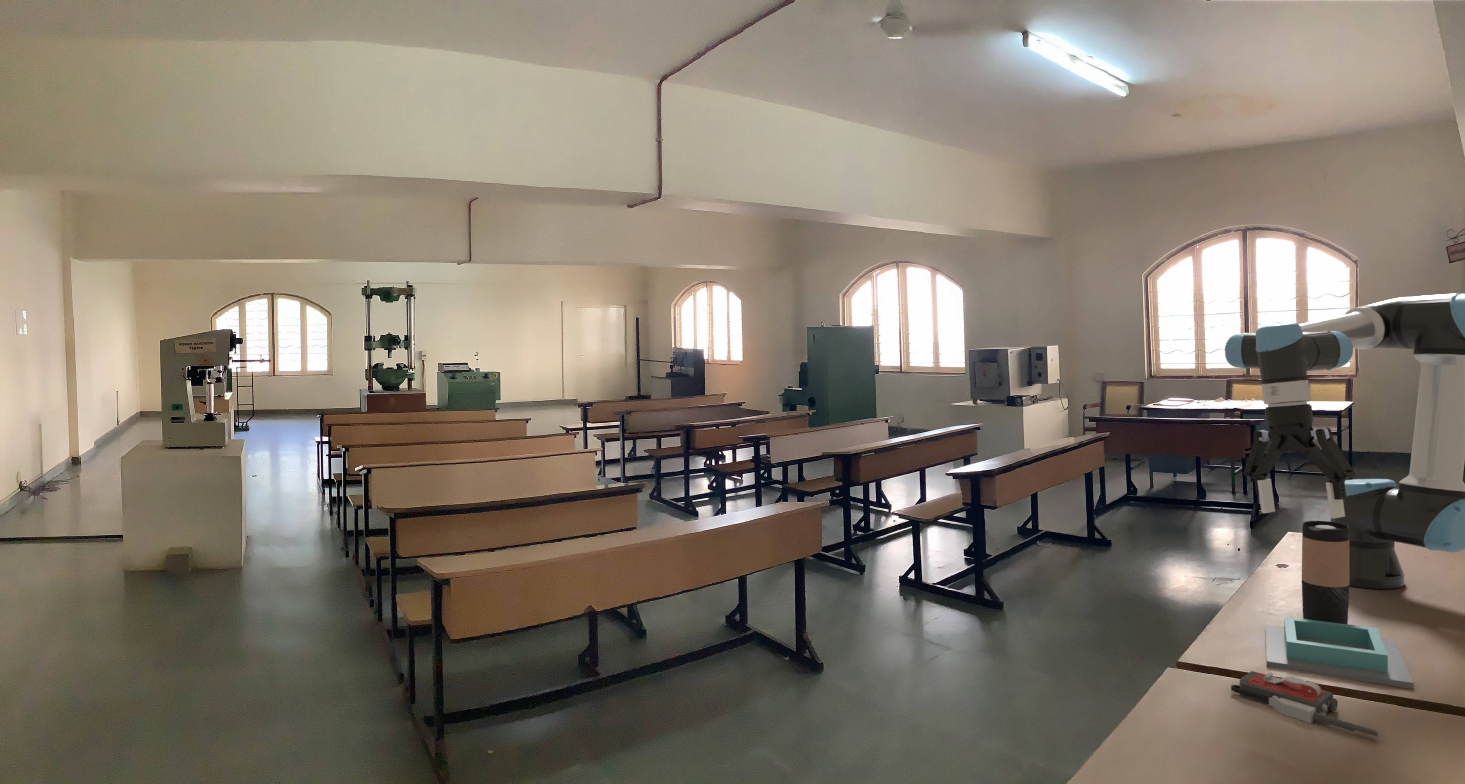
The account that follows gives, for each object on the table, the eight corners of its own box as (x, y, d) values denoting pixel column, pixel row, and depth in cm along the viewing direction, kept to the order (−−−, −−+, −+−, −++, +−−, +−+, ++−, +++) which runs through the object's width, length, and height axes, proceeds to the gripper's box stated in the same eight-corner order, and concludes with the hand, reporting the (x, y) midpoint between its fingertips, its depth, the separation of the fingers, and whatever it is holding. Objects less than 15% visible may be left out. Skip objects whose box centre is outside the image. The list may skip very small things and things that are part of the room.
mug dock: (1265, 629, 160) (1265, 609, 160) (1395, 646, 149) (1395, 625, 149) (1266, 666, 143) (1266, 644, 143) (1413, 688, 132) (1413, 664, 132)
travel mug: (1340, 618, 164) (1341, 521, 162) (1355, 632, 156) (1356, 530, 155) (1296, 615, 166) (1296, 519, 165) (1309, 629, 159) (1309, 528, 157)
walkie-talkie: (1224, 699, 133) (1375, 746, 116) (1224, 673, 132) (1375, 716, 116) (1247, 684, 138) (1394, 726, 122) (1247, 658, 137) (1394, 697, 121)
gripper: (1215, 409, 167) (1228, 512, 166) (1339, 402, 143) (1355, 522, 142) (1243, 406, 169) (1256, 508, 168) (1369, 398, 145) (1385, 516, 145)
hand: (1301, 514), depth 155 cm, fingers open, 13 cm apart
